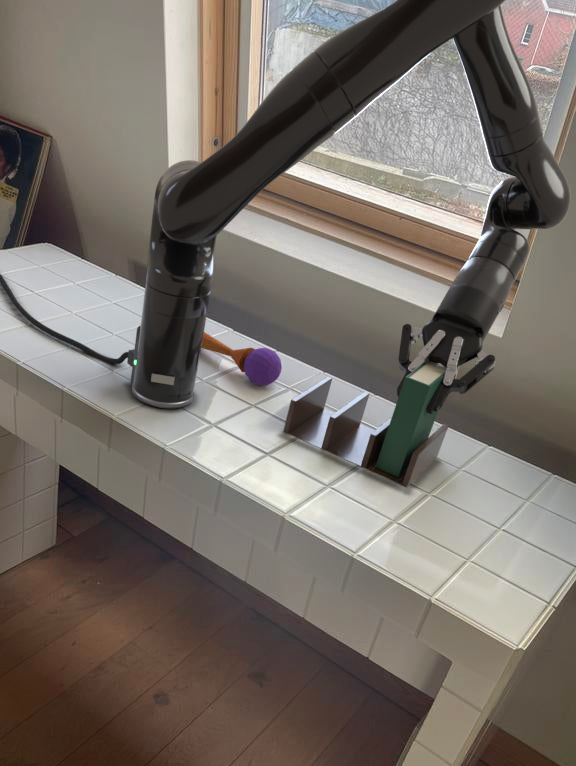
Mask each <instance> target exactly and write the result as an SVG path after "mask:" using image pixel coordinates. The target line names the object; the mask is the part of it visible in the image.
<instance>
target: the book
mask: <svg viewBox="0 0 576 766" xmlns="http://www.w3.org/2000/svg"><path fill="white" fill-rule="evenodd" d="M445 372H446V367H444V366H443V365H442V364H439V363H433V362H431V361H430V360H429V363H424V364H423V365H420V366H419V367H418V368H416V369H415V370H414V371H412V372H411V373H410V374H408V375H407V376H406V377H405V379H404V382H403V385H402V388H401V391H400V394H399V397H398V396H397V401H396V404H395V407H394V409H393V413H392V415H391V417H392V419H391V422H390V425H389V428H388V431H387V434H386V437H385V440H384V443H383V446H382V449H381V452H380V455H379V458H378V461H377V464H376V467H377V468H379V469H381V470H383V471H386V472H388V473H390V474H392V475H394V476H397V477H399V476H400V475H401V474H402V473H403V472H404V471H405V470H406V469H407V468H408V466H409V463H410V460H411V457H412V455H413V452H414V451H415V450H416V449H417V448H419V447H420V446H421V445H422V444H423V443H424V442H425V441H426V440H427V439H428V438H429V437H430V436H431V432H432V430H433V426H434V423H435V422H436V419H437V416H438V413H439V411H438V412H435V411H434V412H433V414H432V415H431V414H429V413H427V406H428V404H429V402H430V400H431V398H432V396H433V395H434V393H435V391H436V389H437V388H438V386H439V384H442V382H443V379H444V376H445Z"/></svg>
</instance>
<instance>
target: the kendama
mask: <svg viewBox="0 0 576 766" xmlns="http://www.w3.org/2000/svg"><path fill="white" fill-rule="evenodd" d="M201 349H203V350H207V351H211V352H214V353H218V354H221V355H225V356H229V357H231V359H232V360H233V362H234V364H236V366H237V368H238V369H239V371H240V372H241V373H244V375H245V376H246V377H247V378H248V380H249V381H250V382H251V383H252V384H255V385H257V386H261V387H262V386H269V385H272V384H273V383H275V382H276V381H277V380H278V378H279V377H280V375H281V373H282V361H281V360H282V359H281V358H280V356H279V355H278V354H277V353H276V351H275V350H272V349H270V348H267V347H257V348H253V347H247V348H239V349H232V347H229V346H228V345H226V344H224V343H223V342H221V341H220V340H218V339H216V338H215V337H213V336H212V335H210V334H209V333H207V332H205V331H204V334H203V340H202V346H201Z"/></svg>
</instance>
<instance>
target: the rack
mask: <svg viewBox="0 0 576 766" xmlns="http://www.w3.org/2000/svg"><path fill="white" fill-rule="evenodd" d="M332 381H333V378H332V377H331V376H327V377H324V378H323V379H321V380H320V381H318V382H316V384H314V385H312V386H310V387H309V388H307V389H306V390H304V391H303V392H301V393H300V394H298V395H297V396H295V397H293V398H292V399H291V400H290V403H289V407H288V411H287V416H286V419H285V422H284V428H283V433H285V434H288V435H290V436H292V437H294V438H296V439H298V440H301V441H303V442H305V443H308V444H310V445H312V446H314V447H316V448H319V449H321V450H323V451H325V452H328V453H330V454H332V455H334V456H336V457H339V458H341V459H343V460H345V461H347V462H350V463H352V464H354V465H356V466H358V467H360V468H363V469H365V470H368V471H370V472H371V473H374V474H376V475H378V476H380V477H382V478H385V479H388V480H390V481H392V482H394V483H396V484H398V485H400V486H403V487H405V488H408V487H409V486H410V485H411V484H412V483H413V482H414V480H416V479H417V478H418V477H419V476H420V475H422V473H423V472H424V471H425V470H426V469H427V468H428V467H429V466H430V465H431V463H433V462H434V460H436V459H437V457H438V456H439V453H440V450H441V448H442V445H443V442H444V439H445V437H446V434H447V432H448V429H449V425H448V424H445V423H443V424H442V425H441V426H439V427H438V429H436V430H435V431H434V432H433V433H432V434H430V435H429V437H428V439H427V440H426V441H425V442H424V443H423V444H422V445H421V446H420V447H419V448H417V449H416V450H415V451H414V452H413V455H412V457H411V460H410V463H409V466H408V468H407V469H406V470H405V471H404V472H403V473H402V474H401V475H400V476H399V477H397V476H394V475H392V474H390V473H388V472H386V471H383V470H381V469H379V468H377V467H376V464H377V461H378V458H379V455H380V452H381V449H382V446H383V443H384V440H385V437H386V434H387V431H388V428H389V425H390V422H391V419H392V416H391V417H389V419H387V420H386V421H385V422H384V423H382V424H381V425H380V426H379V427H377V428H376V429H374V428H371V427H369V426H366V425H365V424H362V421H363V416H364V414H365V411H366V407H367V404H368V401H369V398H370V392H367V391H364V392H362V393H361V394H360V395H358V396H357V397H355V398H354V399H352V400H350V401H349V402H348V403H347V404H345V405H343V407H341V408H339V410H337V411H335V412H334V411H331V410H329V409H327V408H326V403H327V400H328V396H329V392H330V389H331V385H332Z"/></svg>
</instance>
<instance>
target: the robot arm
mask: <svg viewBox="0 0 576 766" xmlns="http://www.w3.org/2000/svg"><path fill="white" fill-rule="evenodd" d="M505 2H506V0H394V2H392V3H391V4H389V5H387V6H386V7H384V8H383V9H380V10H379V11H376V12H375V13H373V14H371V15H369V16H367V17H365V18H364V19H362V20H359V21H357V22H356V23H354V24H352V25H350V26H348V27H346V28H345V29H342V30H341V31H340V32H338V33H336V34H335V35H332V36H331V37H330V38H328V39H327V40H325V41H324V42H323V43H321V44H320V45H319V46H317V47H316V48H314V50H313V51H312V52H310V53H309V54H308V55H307V56H306V57H304V58H303V59H302V60H301V61H300V62H298V63H297V64H296V65H295V66H294V67H293V68H292V69H291V70H289V71H288V72H287V73H286V74H285V75H284V76H283V77H282V78H281V79H280V80H279V82H277V83H276V84H275V86H274V87H273V88H272V89H271V90H270V91H269V93H268V94H267V95H266V96H265V97H264V99H263V100H262V102H260V104H259V105H258V106H257V108H256V109H255V110H254V112H253V114H252V115H251V116H250V117H249V119H248V120H247V121H246V122H245V124H244V125H243V126H242V127H241V128H240V130H239V131H238V132H237V133H236V134H235V135H234V136H233V137H232V138H231V139H230V140H229V141H228V142H227V143H225V144H224V145H223V146H222V147H220V148H219V149H217V150H216V151H215V152H214V153H212V154H211V155H210V156H209V157H207V158H206V159H204V160H203V161H198V160H192V159H189V160H188V159H187V160H181V161H178V162H175V163H174V164H172V165H170V166H169V167H168V168H167V169H166V170H165V171H164V172H163V173H162V175H161V176H160V178H159V179H158V182H157V185H156V188H155V192H154V199H153V206H152V207H153V208H152V214H151V215H152V216H151V225H150V232H149V233H150V234H149V243H148V250H147V251H148V253H147V267H146V268H147V269H146V271H147V272H146V277H145V278H146V279H145V285H144V286H145V287H144V294H143V303H142V309H141V319H140V325H138V326H137V328H136V333H135V341H134V349H128V351H124V352H123V353H122V354H121V355H120V356H119V357H118V358H113V357H109V356H105V355H103V354H101V353H99V352H98V351H95V350H93V349H92V348H90V347H89V346H87V345H85V344H83V343H81V342H79V341H77V340H75V339H73V338H70V337H68V336H66V335H64V334H62V333H60V332H58V331H55V330H53V329H52V328H50V327H48V326H47V325H45V324H43V323H41V322H40V321H39V320H37V319H36V318H35V317H33V316H32V315H31V314H30V313H29V312H27V311H26V309H24V308H23V307H24V306H22V305H21V304H20V303H19V302H18V300H17V298H16V297H15V294H14V293H13V291H12V289H11V288H10V287H9V285H8V283H7V281H6V280H5V278H4V277H3V276H2V274H1V273H0V284H1V286H2V288H3V289H4V291H5V293H6V294H7V296H8V298H9V300H10V301H11V304H12V305H13V306H14V308H15V309H16V310H17V311H18V312H19V313H20V315H22V316H23V317H24V318H25V319H26V320H27V321H28V322H29V323H30V324H32V325H33V326H35V328H38V329H39V330H41V331H42V332H44V333H46V334H48V335H50V336H51V337H53V338H56V339H57V340H59V341H62V342H64V343H66V344H68V345H70V346H72V347H75V348H77V349H79V350H81V351H83V352H84V353H86V354H87V355H89V356H91V357H93V358H95V359H98V360H100V361H102V362H105V363H108V364H111V365H120V364H122V363H124V361H125V360H127V361H126V363H127V364H128V365H129V366H130V367H131V375H130V384H129V385H130V386H131V393H132V395H133V396H134V397H135V399H136V400H138V401H140V402H142V403H144V404H145V405H148V406H151V407H154V408H161V409H169V410H170V409H171V410H173V409H181V408H184V407H187V406H189V405H190V404H191V403H192V402H193V400H194V396H195V387H196V380H197V374H198V369H199V362H200V358H201V357H200V356H201V352H202V348H201V346H202V340H203V334H204V332H205V328H206V322H207V316H208V309H209V305H210V297H211V292H212V286H213V279H214V273H215V271H214V270H215V269H214V267H215V266H214V265H215V249H216V243H217V236H218V234H220V233H221V232H222V231H223V230H225V228H226V227H227V226H228V225H229V224H230V223H231V222H232V221H233V220H234V219H235V218H236V217H237V216H238V215H239V214H240V213H241V212H242V211H243V210H244V209H245V208H246V207H247V206H248V205H249V204H250V203H251V202H252V201H253V200H254V199H255V198H256V196H257V195H259V194H260V193H261V192H262V191H263V190H264V189H265V188H267V187H268V186H269V185H270V184H271V183H272V182H274V181H275V180H276V179H278V178H279V177H280V176H282V175H283V174H285V173H286V172H288V171H289V170H290V169H291V168H293V167H294V166H296V164H298V163H300V162H301V161H302V160H303V159H304V158H306V157H307V156H308V155H309V154H311V153H312V152H314V151H315V150H316V149H318V147H320V146H321V145H323V144H324V143H325V142H326V141H328V140H329V139H330V138H331V137H333V136H334V135H335V134H336V133H338V132H339V131H340V130H342V129H343V128H344V127H345V126H347V125H348V124H349V123H351V121H353V120H354V119H355V118H356V117H358V116H359V115H360V114H361V113H362V112H364V110H366V109H367V108H368V107H369V106H370V105H371V104H372V103H374V102H375V101H376V100H377V99H378V98H380V97H381V96H383V94H385V92H387V91H388V90H389V89H390V88H392V87H393V86H394V85H395V84H397V83H398V82H399V81H401V79H403V77H405V76H406V75H407V74H408V73H409V72H410V71H412V69H414V68H415V67H416V66H418V65H419V64H420V63H421V62H422V61H423V60H424V59H425V58H427V57H428V56H429V55H431V54H432V53H434V52H435V51H436V50H437V49H439V48H440V47H442V46H444V45H445V44H446V43H448V42H449V41H450V40H453V43H454V45H455V48H456V51H457V53H458V56H459V58H460V61H461V64H462V67H463V71H464V74H465V76H466V80H467V83H468V87H469V90H470V93H471V96H472V100H473V104H474V107H475V110H476V111H475V112H476V114H477V118H478V122H479V124H480V125H479V127H480V131H481V135H482V138H483V142H484V145H485V149H486V152H487V157H488V160H489V163H490V165H491V167H492V168H493V170H495V171H496V172H498V173H500V174H504V175H509V176H511V177H507V178H505V179H504V180H502V181H501V182H500V183H498V185H496V186H495V187H494V189H493V190H492V192H491V193H490V196H489V199H488V202H487V206H486V211H485V215H484V219H483V222H482V227H481V232H480V235H479V239H478V241H477V242H476V244H475V246H474V247H473V249H472V251H471V253H470V255H469V256H468V258H467V260H466V262H465V263H464V265H463V266H462V267H461V268H460V270H459V271H458V273H457V274H456V276H455V278H454V279H453V281H452V282H451V284H450V286H449V287H448V290H447V292H446V293H445V295H444V297H443V298H442V300H441V302H440V304H439V306H438V307H437V309H436V311H435V313H434V314H433V316H432V318H431V320H430V321H428V322H427V323H426V324H424V325H423V327H412V325H411V324H409V323H404V325H402V329H401V337H400V344H399V351H398V353H399V354H398V367H399V368H398V369H399V370H400V371H401V372H404V375H403V377H402V380H401V381H400V382H399V384H398V386H397V388H396V394H397V398H398V397H399V394H400V391H401V388H402V385H403V382H404V379H405V377H406V376H407V375H408V374H410V373H411V372H412V371H414V370H415V369H416V368H418V367H419V366H420V365H423V364H424V363H429V360H430V361H431V362H433V363H439V364H442V365H443V366H444V367H446V372H445V376H444V379H443V382H442V384H439V386H438V388H437V389H436V391H435V393H434V395H433V396H432V398H431V400H430V402H429V404H428V406H427V413H429V414H431V415H432V414H433V412H434V411H435V412H438V413H439V411H441V409H442V407H443V405H444V403H445V402H446V400H447V398H448V397H449V395H450V394H451V393H458V394H460V395H464V394H466V393H468V392H469V391H470V390H471V389H472V388H473V387H474V386H475V385H477V384H478V383H480V381H481V380H483V379H484V378H485V377H486V376H487V375H489V374H490V373H491V372H492V371H493V370H495V367H496V366H495V365H496V356H495V355H494V354H488V353H487V352H485V351H484V350H483V343H484V341H485V339H486V338H487V335H488V333H489V332H490V331H491V328H492V326H493V325H494V323H495V321H496V319H497V318H498V316H499V314H500V313H501V311H502V310H503V308H504V307H505V303H506V302H507V299H508V297H509V295H510V292H511V290H512V287H513V285H514V284H515V281H516V280H517V278H518V276H519V274H520V272H521V271H522V269H523V267H524V265H525V263H526V262H527V260H528V258H529V255H530V243H529V241H528V239H527V238H526V237H525V236H524V235H523V234H522V233H520V232H519V231H517V230H550V229H553V228H556V227H557V226H559V225H560V224H562V222H563V221H564V220H565V218H566V217H567V215H568V213H569V210H570V207H571V201H572V196H571V189H570V188H571V187H570V184H569V182H568V179H567V177H566V175H565V173H564V171H563V170H562V168H561V166H560V164H559V163H558V161H557V159H556V157H555V156H554V153H553V152H552V150H551V149H550V147H549V145H548V144H547V142H546V140H545V137H544V133H543V128H542V127H543V126H542V123H541V118H540V114H539V109H538V105H537V102H536V101H537V100H536V97H535V94H534V92H533V89H532V86H531V83H530V81H529V78H528V76H527V74H526V72H525V70H524V67H523V65H522V63H521V61H520V59H519V57H518V55H517V53H516V50H515V48H514V46H513V43H512V41H511V37H510V35H509V32H508V30H507V26H506V23H505V19H504V14H503V12H502V11H503V10H502V5H503V3H504V4H505ZM419 338H422V342H423V347H422V348H421V349H420V351H419V352H418V354H417V356H416V357H415V358H414V359H413V360H412V361H411V360H410V356H411V349H412V345H415V344H417V342H418V340H419ZM474 359H476V360H475V363H474V366H473V367H472V368H471V369H469V370H468V371H467V372H466V373H465V374H464V375H462V376H461V377H460V378H457V376H458V372H459V369H460V367H461V366H462V365H464V364H467V363H468V362H470V361H472V360H474Z"/></svg>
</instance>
